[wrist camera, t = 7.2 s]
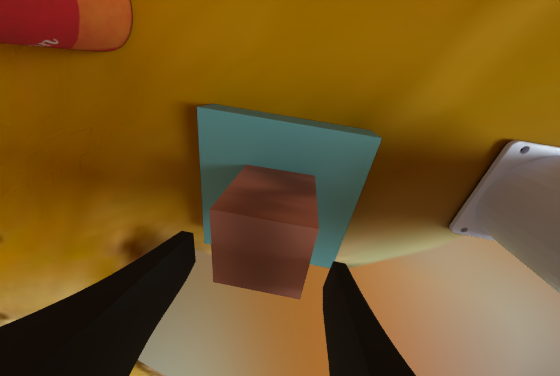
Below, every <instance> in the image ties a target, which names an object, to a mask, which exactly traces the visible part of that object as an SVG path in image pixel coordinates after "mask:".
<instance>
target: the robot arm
mask: <svg viewBox="0 0 560 376" xmlns="http://www.w3.org/2000/svg"><path fill="white" fill-rule="evenodd" d="M523 147H524V148H523ZM522 148H523V150H522V151H520V150H521V149H522ZM462 228H463V229H462ZM449 229H450V230H451V231H452V232H453V233H457V234H462V235H468V236H473V237H479V238H484V239H490V240H495V241H497V242H498V243H499V244H501V245H502V246H503V247H504V248H505V249H507V250H508V251H509V252H510V253H511V254H513V255H514V256H515V257H516V258H518V259H519V260H520V261H521V262H522V263H524V264H525V265H526V266H527V267H529V268H530V269H531V270H532V271H533V272H535V273H536V274H537V275H538V276H540V277H541V278H542V279H543V280H544V281H546V282H547V283H548V284H549V285H551V286H552V287H553V288H554V289H555V290H557V291H558V292H559V293H560V147H555V146H549V145H543V144H537V143H531V142H525V141H519V140H514V141H511V142H509V143H507V144H506V146H505V147H504V148H503V150H502V151H501V153H500V154H499V155H498V157H497V158H496V160H495V161H494V163H493V164H492V165H491V167H490V168H489V170H488V171H487V173H486V174H485V175H484V177H483V178H482V180H481V181H480V183H479V184H478V185H477V187H476V188H475V190H474V191H473V193H472V194H471V195H470V197H469V198H468V200H467V201H466V203H465V204H464V205H463V207H462V208H461V210H460V211H459V213H458V214H457V215H456V217H455V218H454V220H453V221H452V223H451V224H450V225H449ZM195 261H196V260H195V248H194V236H193V233H190V232H185V231H181V232H179V233H178V234H176V235H175V236H173V237H171V238H170V239H168V240H167V241H165V242H164V243H162V244H161V245H159V246H158V247H156V248H155V249H153V250H151V251H150V252H148V253H147V254H145V255H143V256H142V257H140V258H139V259H137V260H136V261H134V262H132V263H130V264H129V265H127V266H125V267H124V268H122V269H120V270H119V271H117V272H115V273H113V274H112V275H110V276H108V277H106V278H104V279H103V280H101V281H99V282H97V283H95V284H93V285H91V286H89V287H87V288H85V289H83V290H81V291H79V292H77V293H75V294H73V295H71V296H69V297H67V298H65V299H63V300H60V301H58V302H56V303H54V304H52V305H50V306H47V307H45V308H43V309H41V310H39V311H37V312H34V313H32V314H30V315H27V316H25V317H23V318H20V319H18V320H16V321H13V322H11V323H9V324H6V325H4V326H1V327H0V376H129V375H130V373H131V371H132V369H133V367H134V365H135V363H136V361H137V360H138V358H139V356H140V354H141V352H142V350H143V349H144V347H145V345H146V343H147V341H148V339H149V338H150V336H151V334H152V333H153V331H154V329H155V328H156V326H157V324H158V323H159V321H160V320H161V318H162V317H163V315H164V314H165V312H166V311H167V309H168V307H169V306H170V304H171V303H172V301H173V300H174V298H175V297H176V295H177V294H178V292H179V291H180V289H181V287H182V286H183V284H184V283H185V281H186V279H187V278H188V275H189V273H190V272H191V270H192V268H193V266H194V263H195ZM323 314H324V324H325V333H326V343H327V352H328V361H329V372H330V376H416V375H415V374H414V372H413V371H412V370H411V368H410V367H409V366H408V365H407V363H406V362H405V360H404V359H403V358H402V356H401V355H400V354H399V352H398V350H397V349H396V348H395V346H394V345H393V343H392V342H391V340H390V339H389V337H388V336H387V334H386V333H385V331H384V330H383V328H382V327H381V325H380V323H379V322H378V320H377V319H376V317H375V315H374V314H373V312H372V310H371V309H370V307H369V305H368V304H367V302H366V300H365V298H364V297H363V295H362V293H361V291H360V290H359V288H358V286H357V284H356V282H355V280H354V279H353V277H352V275H351V273H350V271H349V269H348V267H347V265H346V264H344V263H339V262H334V261H333V263H332V265H331V268H330V271H329V273H328V276H327V278H326V281H325V284H324V286H323Z"/></svg>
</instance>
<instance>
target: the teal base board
mask: <svg viewBox="0 0 560 376" xmlns="http://www.w3.org/2000/svg"><path fill="white" fill-rule="evenodd" d="M197 120H198V138H199V156H200V174H201V192H202V210H203V228H204V243H206V244H211V229H210V208H211V207H212V206H213V205H214V203H215V202H216V201H217V200H218V198H219V197H220V196H221V195H222V194H223V192H224V191H225V190H226V189H227V187H228V186H229V185H230V184H231V183H232V181H233V180H234V179H235V178H236V176H237V175H238V174H239V173H240V172H241V170H242V169H243V168H244V167H245V165H246V164H247V165H253V166H259V167H265V168H271V169H277V170H284V171H290V172H296V173H302V174H308V175H314V176H315V182H316V196H317V209H318V222H319V231H318V235H317V238H316V242H315V246H314V249H313V253H312V257H311V260H310V264H312V265H318V266H323V267H328V268H331V265H332V263H333V261H335V258H336V256H337V253H338V250H339V248H340V245H341V243H342V240H343V238H344V235H345V232H346V230H347V227H348V225H349V222H350V220H351V217H352V214H353V212H354V209H355V207H356V204H357V201H358V199H359V196H360V194H361V191H362V189H363V186H364V183H365V181H366V178H367V176H368V173H369V171H370V168H371V165H372V163H373V160H374V158H375V155H376V153H377V150H378V147H379V145H380V142H381V140H382V138H381V137H380V136H378V135H377V134H375V133H374V132H373V131H371V130H366V129H360V128H354V127H348V126H342V125H336V124H331V123H325V122H319V121H313V120H307V119H301V118H295V117H289V116H283V115H277V114H271V113H265V112H259V111H253V110H247V109H241V108H235V107H229V106H223V105H217V104H209V105H203V106H198V107H197Z"/></svg>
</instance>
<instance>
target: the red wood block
mask: <svg viewBox="0 0 560 376" xmlns="http://www.w3.org/2000/svg"><path fill="white" fill-rule="evenodd" d="M210 229H211V248H212V266H213V282H216V283H221V284H226V285H231V286H236V287H241V288H246V289H251V290H256V291H261V292H266V293H271V294H276V295H281V296H286V297H291V298H296V299H300V297H301V293H302V290H303V286H304V282H305V279H306V275H307V271H308V268H309V264H310V260H311V257H312V253H313V249H314V246H315V242H316V238H317V235H318V231H319V222H318V209H317V196H316V182H315V176H314V175H308V174H302V173H296V172H290V171H284V170H277V169H271V168H265V167H259V166H253V165H247V164H246V165H245V167H244V168H243V169H242V170H241V172H240V173H239V174H238V175H237V176H236V178H235V179H234V180H233V181H232V183H231V184H230V185H229V186H228V187H227V189H226V190H225V191H224V192H223V194H222V195H221V196H220V197H219V198H218V200H217V201H216V202H215V203H214V205H213V206H212V207H211V208H210Z"/></svg>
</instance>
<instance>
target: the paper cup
mask: <svg viewBox="0 0 560 376" xmlns="http://www.w3.org/2000/svg"><path fill="white" fill-rule="evenodd" d="M132 21H133V14H132V6H131V1H130V0H0V43H8V44H19V45H30V46H41V47H53V48H65V49H76V50H90V51H113V50H116V49H118V48H120V47H121V46H123V45H124V44H125V43H126V41H127V40H128V38H129V36H130V33H131V29H132Z"/></svg>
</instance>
